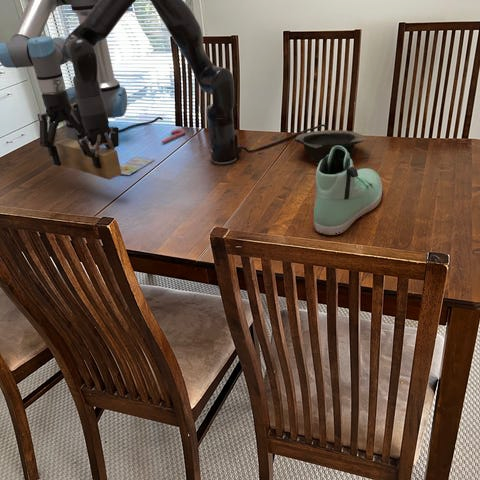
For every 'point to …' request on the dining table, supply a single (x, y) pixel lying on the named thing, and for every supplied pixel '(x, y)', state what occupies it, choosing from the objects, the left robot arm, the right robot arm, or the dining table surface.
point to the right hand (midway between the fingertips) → (105, 164)
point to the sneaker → (343, 192)
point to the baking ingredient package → (133, 165)
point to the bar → (88, 159)
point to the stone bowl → (328, 142)
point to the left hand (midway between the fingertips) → (71, 159)
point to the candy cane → (179, 131)
